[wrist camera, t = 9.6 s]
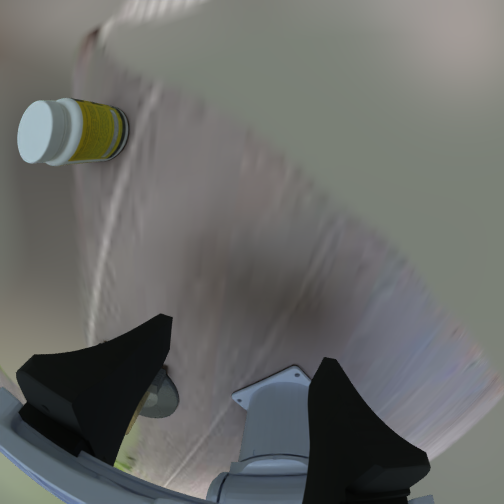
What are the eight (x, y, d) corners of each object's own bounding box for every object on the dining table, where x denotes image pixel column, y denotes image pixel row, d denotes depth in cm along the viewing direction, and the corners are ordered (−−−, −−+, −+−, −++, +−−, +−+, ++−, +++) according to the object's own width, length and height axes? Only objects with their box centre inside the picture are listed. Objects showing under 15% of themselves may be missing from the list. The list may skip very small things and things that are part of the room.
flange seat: (92, 334, 26) (77, 350, 23) (182, 369, 26) (171, 391, 23) (102, 393, 30) (91, 408, 27) (176, 423, 30) (168, 442, 26)
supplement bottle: (126, 98, 18) (55, 80, 10) (133, 152, 19) (60, 154, 12) (84, 118, 19) (12, 113, 11) (90, 167, 20) (17, 179, 12)
